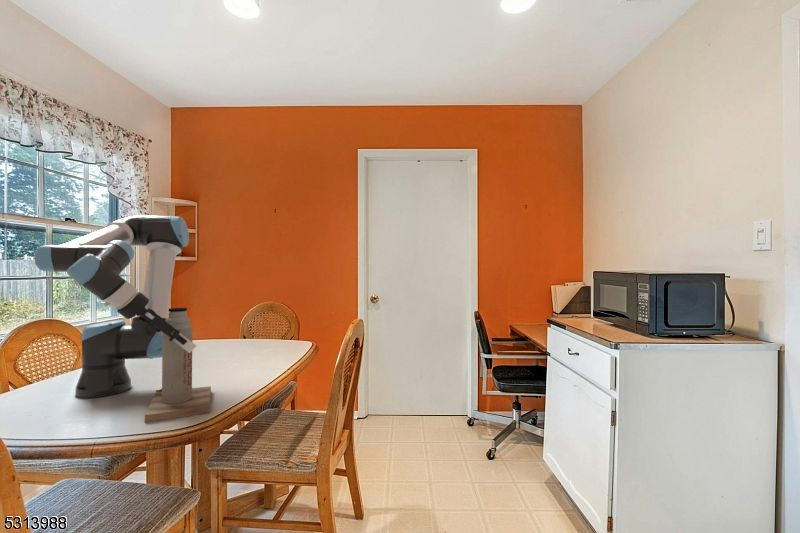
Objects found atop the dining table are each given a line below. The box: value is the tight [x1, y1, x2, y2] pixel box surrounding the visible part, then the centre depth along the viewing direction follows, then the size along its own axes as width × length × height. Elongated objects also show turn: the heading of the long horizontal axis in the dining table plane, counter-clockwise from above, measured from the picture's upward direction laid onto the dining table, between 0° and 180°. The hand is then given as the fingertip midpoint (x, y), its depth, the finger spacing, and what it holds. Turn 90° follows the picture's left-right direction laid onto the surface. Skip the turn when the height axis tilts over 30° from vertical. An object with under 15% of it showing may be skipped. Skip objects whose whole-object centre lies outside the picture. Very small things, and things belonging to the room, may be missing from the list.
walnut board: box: [144, 385, 212, 423], centre depth 120 cm, size 20×16×2 cm
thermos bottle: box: [161, 307, 194, 404], centre depth 119 cm, size 8×8×28 cm
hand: (185, 345), depth 120 cm, fingers open, 13 cm apart
